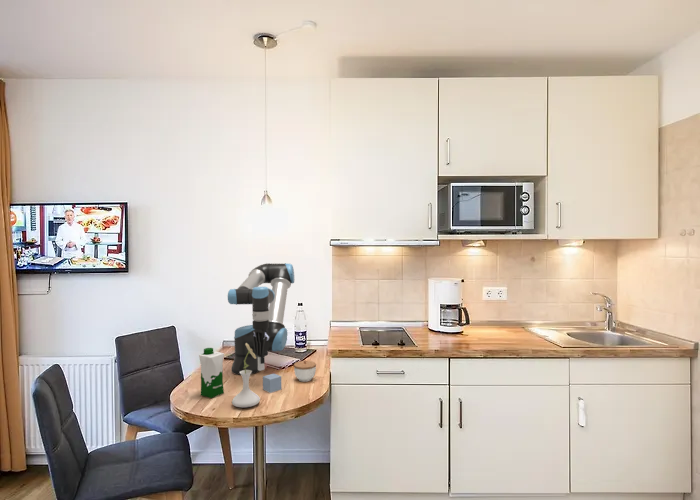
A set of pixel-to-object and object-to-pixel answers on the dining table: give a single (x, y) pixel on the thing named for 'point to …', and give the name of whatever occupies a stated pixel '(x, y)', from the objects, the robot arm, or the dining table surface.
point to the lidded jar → (305, 370)
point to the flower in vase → (246, 388)
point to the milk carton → (211, 373)
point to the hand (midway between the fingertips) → (261, 369)
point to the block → (272, 383)
